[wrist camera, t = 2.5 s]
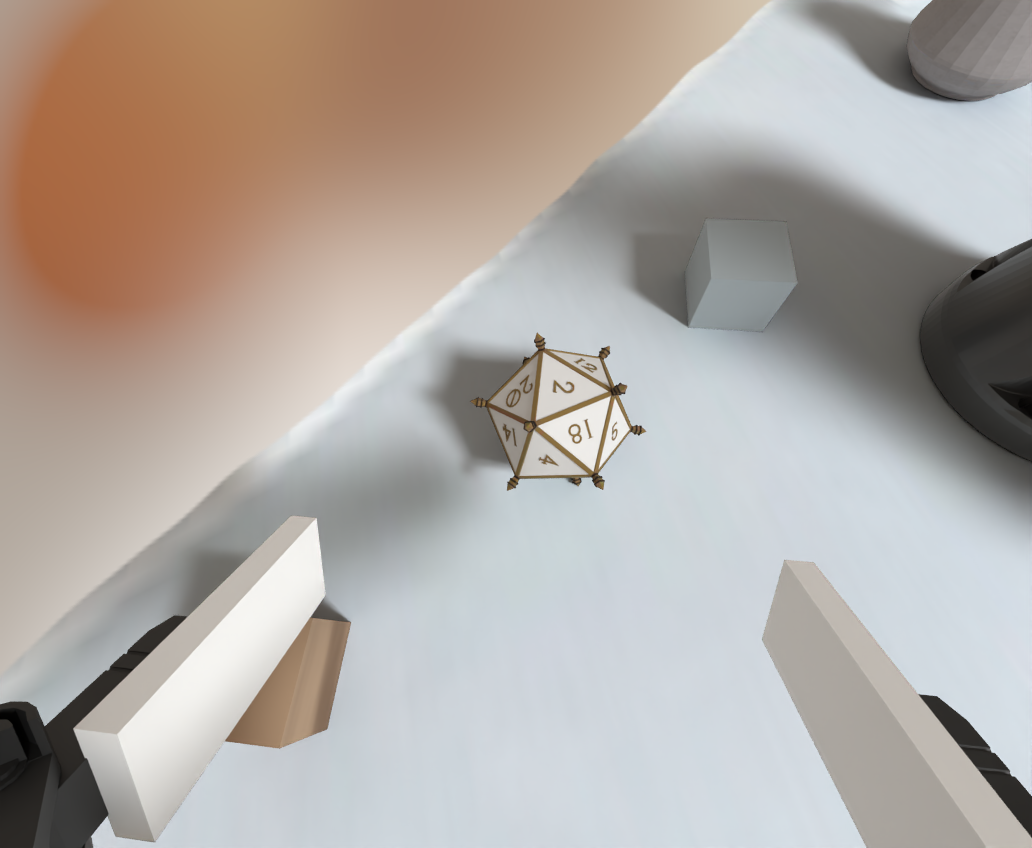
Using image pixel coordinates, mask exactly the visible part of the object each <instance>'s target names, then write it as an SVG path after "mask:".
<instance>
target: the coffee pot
mask: <svg viewBox="0 0 1032 848" xmlns="http://www.w3.org/2000/svg"><path fill="white" fill-rule="evenodd" d="M907 51H908V56H909V60H910V63H911V65H912V66H911V70H912V73H913V76H914V77H915V78H916V80H917V81H918V82H919V83H920V84H922V85H923V86H924V87H925V88H927V89H929V90H931V91H933V92H934V93H936V94H939V95H942V96H945V97H948V98H953V99H958V100H969V101H975V100H984V99H987V98H991V97H994V96H995V95H997V94H1002V93H1005V92H1008V91H1011V90H1014V89H1017V88H1020V87H1022V86H1025V85H1027V84H1029V83H1030V82H1032V0H932V1H931V2H930V3H929V4H928V5H927V6H926V7H925V8H924V9H923V10H922V11H921V12H920V13H919V14H918V15H917V17H916V18H915V19H914V20H913V22H912V24H911V26H910V31H909V36H908V41H907Z"/></svg>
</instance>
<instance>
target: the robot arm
mask: <svg viewBox="0 0 1032 848" xmlns="http://www.w3.org/2000/svg"><path fill="white" fill-rule="evenodd" d="M921 348H922V353H923V357H924V360H925V363H926V366H927V368H928V370H929V373H930V375H931V377H932V379H933V380H934V382H935V384H936V385H937V387H938V389H939V390H940V391H941V393H942V394H943V396H944V397H945V398H946V399H947V401H948V402H949V403H950V404H951V405H952V406H953V408H954V409H955V410H956V411H957V412H958V413H959V414H960V415H961V416H962V417H963V418H964V419H965V420H966V421H968V422H969V423H970V424H971V425H972V426H973V427H975V428H976V429H977V430H978V431H980V432H981V433H982V434H984V435H985V436H986V437H988V438H989V439H991V440H992V441H994V442H995V443H997V444H998V445H1000V446H1002V447H1004V448H1005V449H1007V450H1009V451H1011V452H1013V453H1015V454H1016V455H1018V456H1020V457H1023V458H1025V459H1027V460H1029V461H1032V239H1030V240H1028V241H1026V242H1024V243H1021V244H1019V245H1017V246H1015V247H1013V248H1011V249H1008V250H1006V251H1004V252H1002V253H1000V254H998V255H996V256H994V257H991V258H989V259H987V260H985V261H983V262H981V263H979V264H977V265H975V266H974V267H972V268H970V269H969V270H967V271H966V272H965V273H963V274H962V275H961V276H959V277H958V278H957V279H956V280H955V281H954V282H953V283H951V284H950V285H949V286H948V287H947V288H946V289H944V290H943V291H942V292H941V293H940V294H939V295H938V296H937V297H936V298H935V299H934V300H933V301H932V302H931V304H930V305H929V307H928V309H927V311H926V312H925V315H924V318H923V321H922V326H921ZM325 595H326V593H325V585H324V576H323V568H322V560H321V551H320V543H319V535H318V526H317V518H313V517H301V516H290V517H289V518H288V519H287V520H286V521H285V522H284V523H283V524H282V525H281V526H280V527H279V528H278V529H277V530H276V531H275V532H274V533H273V534H272V535H271V536H270V537H269V538H268V539H267V540H266V541H265V542H264V543H263V544H262V545H261V546H260V547H259V548H258V549H257V550H256V551H254V552H253V553H252V554H251V555H250V556H249V557H248V558H247V559H246V560H245V561H244V562H243V563H242V564H241V565H240V566H239V567H238V568H237V569H236V570H235V571H234V572H233V573H232V574H231V575H230V576H229V577H228V578H227V579H226V580H225V581H224V582H223V583H222V584H221V585H220V586H219V587H218V588H217V589H216V590H215V591H214V592H213V593H212V594H211V595H209V596H208V597H207V598H206V599H205V600H204V601H203V602H202V603H201V604H200V605H199V606H198V607H197V608H196V609H195V610H194V611H193V612H192V613H191V614H190V615H189V616H188V617H185V616H176V615H175V616H173V617H171V618H170V619H168V620H166V621H165V622H163V623H161V624H160V625H158V626H156V627H154V628H153V629H151V630H149V631H148V632H147V633H146V634H145V635H144V636H143V637H142V638H140V639H139V640H138V641H137V642H136V643H135V644H134V645H133V646H132V647H131V648H130V649H128V652H127V654H123V655H122V656H121V657H120V658H119V659H118V660H117V661H115V662H114V663H113V664H112V665H111V666H110V669H109V670H108V671H107V670H106V671H105V672H103V673H102V674H101V675H100V676H99V677H98V678H97V679H96V680H95V681H94V682H93V683H92V684H90V685H89V686H88V687H87V688H86V689H85V690H84V691H83V692H82V693H81V694H80V695H78V696H77V697H76V698H75V699H74V700H73V701H72V702H71V703H70V704H69V705H68V706H67V707H65V708H64V709H63V710H62V711H61V712H60V713H59V714H58V715H57V716H56V717H55V718H53V719H52V720H51V721H50V722H49V723H48V724H47V725H46V726H45V727H44V724H43V722H42V720H41V717H40V715H39V712H38V710H37V708H36V707H35V706H33V705H32V704H30V703H28V702H8V703H4V704H0V848H93V844H92V838H91V836H92V834H93V833H94V832H95V831H96V829H97V828H98V827H99V826H100V824H101V823H102V822H103V821H104V819H105V818H106V817H107V816H108V818H109V821H110V824H111V826H112V829H113V831H114V834H115V836H116V837H122V838H128V839H135V840H142V841H149V842H156V840H157V839H158V837H159V836H160V834H161V833H162V831H163V830H164V829H165V827H166V826H167V824H168V823H169V821H170V820H171V818H172V817H173V816H174V814H175V813H176V811H177V810H178V808H179V807H180V805H181V804H182V802H183V801H184V800H185V798H186V797H187V795H188V794H189V792H190V791H191V789H192V788H193V787H194V785H195V784H196V782H197V781H198V779H199V778H200V776H201V775H202V773H203V772H204V771H205V769H206V768H207V766H208V765H209V763H210V762H211V760H212V759H213V758H214V756H215V755H216V753H217V752H218V750H219V749H220V747H221V746H222V744H223V743H224V742H225V740H226V739H227V737H228V736H229V734H230V733H231V731H232V730H233V729H234V727H235V726H236V724H237V723H238V721H239V720H240V718H241V717H242V715H243V714H244V713H245V711H246V710H247V708H248V707H249V705H250V704H251V702H252V701H253V700H254V698H255V697H256V695H257V694H258V692H259V691H260V689H261V688H262V686H263V685H264V684H265V682H266V681H267V679H268V678H269V676H270V675H271V673H272V672H273V671H274V669H275V668H276V666H277V665H278V663H279V662H280V660H281V659H282V657H283V656H284V655H285V653H286V652H287V650H288V649H289V647H290V646H291V644H292V643H293V642H294V640H295V639H296V637H297V636H298V634H299V633H300V631H301V630H302V628H303V627H304V626H305V624H306V623H307V621H308V620H309V618H310V617H311V615H312V614H313V613H314V611H315V610H316V608H317V607H318V605H319V604H320V602H321V601H322V599H323V598H324V597H325ZM762 641H763V643H764V645H765V647H766V649H767V651H768V653H769V655H770V657H771V659H772V661H773V662H774V664H775V666H776V668H777V670H778V672H779V674H780V676H781V678H782V680H783V682H784V684H785V686H786V688H787V690H788V692H789V694H790V696H791V698H792V700H793V702H794V704H795V706H796V708H797V710H798V712H799V714H800V716H801V718H802V720H803V722H804V724H805V726H806V728H807V730H808V732H809V734H810V736H811V738H812V740H813V742H814V744H815V746H816V748H817V750H818V752H819V754H820V756H821V758H822V760H823V762H824V764H825V766H826V768H827V770H828V772H829V774H830V776H831V778H832V780H833V782H834V784H835V786H836V788H837V790H838V792H839V794H840V796H841V798H842V800H843V802H844V804H845V806H846V808H847V810H848V812H849V814H850V816H851V818H852V820H853V822H854V823H855V825H856V827H857V829H858V831H859V833H860V835H861V837H862V839H863V841H864V843H865V845H866V847H867V848H1032V796H1031V795H1030V794H1029V793H1028V791H1027V790H1026V789H1025V788H1024V787H1023V785H1022V784H1021V783H1020V782H1019V781H1018V780H1017V778H1016V777H1013V776H1011V774H1010V770H1009V769H1008V768H1007V767H1006V765H1005V764H1004V763H1003V762H1002V761H1001V760H1000V758H999V757H998V756H997V755H996V754H995V753H992V752H991V750H990V747H989V746H988V744H987V743H986V742H985V741H984V740H983V738H982V737H981V736H980V735H979V734H978V733H977V731H976V730H975V729H974V728H973V727H972V726H971V724H970V723H969V722H968V721H967V720H966V719H965V718H963V717H962V716H961V715H960V714H958V713H957V712H956V711H955V710H953V709H952V708H951V707H950V706H948V705H947V704H946V703H945V702H943V701H942V700H941V699H940V698H938V697H937V696H929V695H920V694H918V693H917V692H916V691H915V690H914V688H913V687H912V686H911V685H910V683H909V682H908V681H907V680H906V678H905V677H904V676H903V675H902V673H901V672H900V671H899V669H898V668H897V667H896V666H895V664H894V663H893V662H892V661H891V659H890V658H889V657H888V656H887V654H886V653H885V652H884V651H883V649H882V648H881V647H880V645H879V644H878V643H877V642H876V640H875V639H874V638H873V637H872V635H871V634H870V633H869V632H868V630H867V629H866V628H865V627H864V625H863V624H862V623H861V621H860V620H859V619H858V618H857V616H856V615H855V614H854V613H853V611H852V610H851V609H850V608H849V606H848V605H847V604H846V603H845V601H844V600H843V599H842V597H841V596H840V595H839V594H838V592H837V591H836V590H835V589H834V587H833V586H832V585H831V584H830V582H829V581H828V580H827V578H826V577H825V576H824V575H823V573H822V572H821V571H820V570H819V568H818V567H817V566H816V565H815V563H814V562H802V561H791V560H784V563H783V566H782V570H781V574H780V577H779V581H778V584H777V588H776V591H775V595H774V598H773V602H772V605H771V609H770V613H769V616H768V620H767V623H766V627H765V630H764V634H763V637H762Z"/></svg>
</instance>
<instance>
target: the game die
mask: <svg viewBox="0 0 1032 848" xmlns="http://www.w3.org/2000/svg"><path fill="white" fill-rule="evenodd" d="M544 339H545V338H543V337H541V336H540V335H539V334H538V333H537V335H536V338H535V340H534V343H536V347H537V348H538V351H537V352H536V353H535V354H534V355H533V356H532V357H531V358H526V357H524V360H523V364H524V365H523V366H522V367H521V368H520V369H519V370H518V371H517V372H516V373H515V374H514V375H513V376H512V377H511V378H510V379H509V380H508V381H507V382H506V383H505V384H504V385H503V386H502V387H501V388H500V389H499V390H498V391H497V392H496V393H495V394H494V395H493V396H492V397H491V398H490V399H489V400H488V401H486V400H484V399H483V398H482V399H481V398H479V397H478V398H476V399H474V400H471V402H472V403H473V404H474V405H475V406H476V407H477V406H479V407H480V408H481V407H487V410H488V412H489V415H490V417H491V419H492V422H493V424H494V427H495V429H496V431H497V434H498V436H499V439H500V441H501V443H502V446H503V448H504V451H505V453H506V456H507V458H508V460H509V463H510V465H511V468H512V470H513V472H514V477H513V478H510V481H509V482H507V483H508V486H507V491H508V490H511V489H513V488H516V485H518V481H519V479H535V478H572V480H573V481H572V483H574V484H576V485H577V486H579V484H580V483H581V478H584V477H592V478H593V480H592V481H593V483H594V485H595V486H596V487H598V488H600V489H602V490H603V488H604V481H605V480H603V479H602V476H599V475H598V473H599V472H600V470H601V469H602V468H603V466H604V465H605V464H606V462H607V461H608V460H609V459H610V457H611V456H612V455H613V453H614V452H615V451H616V449H617V448H618V447H619V446H620V444H621V443H622V442H623V440H624V439H625V438H626V436H627V435H628V434H629V433H630V432H632V433H634V435H635V434H638V435H640V434H642V433H644V432H646V431H645V430H644V429H643V428H642V426H638V425H635V426H631V424H630V421H629V419H628V417H627V414H626V412H625V410H624V407H623V405H622V403H621V400H620V398H619V396H618V395H621V394H625V391H626V388H627V386H626V385H623V384H621V383H619V384H618V385H616V386H614V384H613V382H612V379H611V377H610V375H609V372H608V370H607V367H606V365H605V363H604V358H606V357H607V355H609V354H610V346H608V347H605V348H601V349H602V350H601V351H599V353H600V354H599V356H598V357H596V356H590V355H584V354H577V353H571V352H564V351H558V350H551V349H545V344H546V342H544Z"/></svg>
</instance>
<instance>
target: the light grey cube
mask: <svg viewBox="0 0 1032 848" xmlns="http://www.w3.org/2000/svg"><path fill="white" fill-rule="evenodd" d="M685 282H686V299H687V317H688V328H704V329H721V330H739V331H756V332H763V330H764V329H765V328H766V326H767V325H768V323H769V322H770V321H771V319H772V318H773V316H774V315H775V314H776V312H777V311H778V309H779V308H780V307H781V305H782V304H783V302H784V301H785V300H786V298H787V297H788V296H789V294H790V293H791V291H792V290H793V289H794V287H795V286H796V284H797V283H798V282H797V277H796V271H795V266H794V260H793V255H792V249H791V243H790V238H789V232H788V227H787V221H765V220H739V219H713V218H706V220H705V222H704V225H703V227H702V230H701V232H700V235H699V238H698V240H697V243H696V245H695V248H694V250H693V253H692V255H691V258H690V260H689V263H688V265H687V268H686V270H685Z"/></svg>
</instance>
